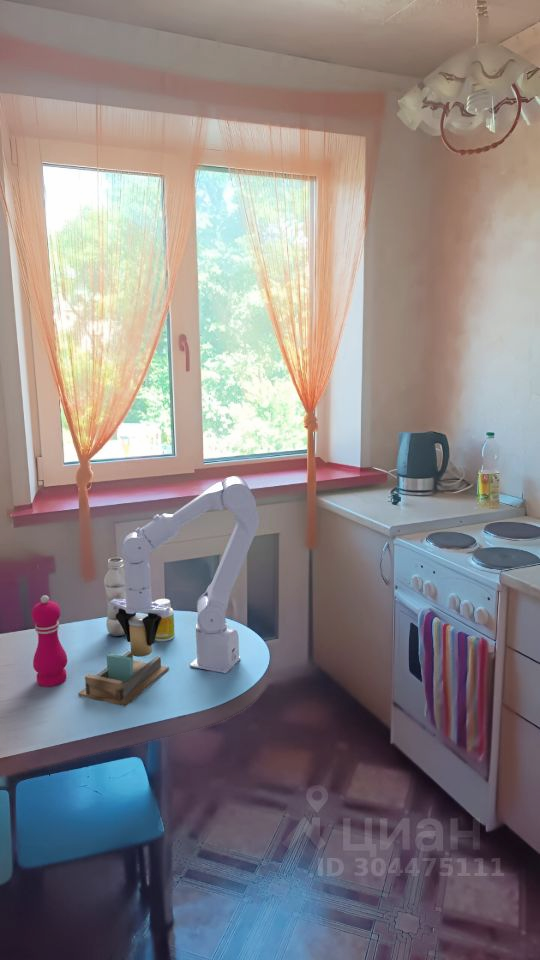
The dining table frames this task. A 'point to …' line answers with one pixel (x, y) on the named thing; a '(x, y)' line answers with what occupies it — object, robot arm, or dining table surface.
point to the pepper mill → (48, 644)
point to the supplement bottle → (165, 623)
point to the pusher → (119, 667)
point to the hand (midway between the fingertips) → (141, 642)
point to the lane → (119, 691)
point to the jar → (138, 637)
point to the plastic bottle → (114, 593)
